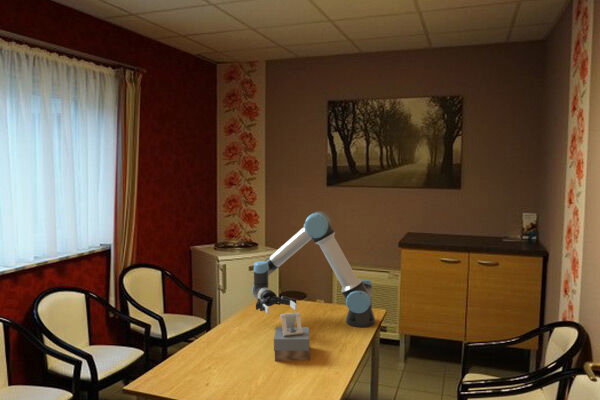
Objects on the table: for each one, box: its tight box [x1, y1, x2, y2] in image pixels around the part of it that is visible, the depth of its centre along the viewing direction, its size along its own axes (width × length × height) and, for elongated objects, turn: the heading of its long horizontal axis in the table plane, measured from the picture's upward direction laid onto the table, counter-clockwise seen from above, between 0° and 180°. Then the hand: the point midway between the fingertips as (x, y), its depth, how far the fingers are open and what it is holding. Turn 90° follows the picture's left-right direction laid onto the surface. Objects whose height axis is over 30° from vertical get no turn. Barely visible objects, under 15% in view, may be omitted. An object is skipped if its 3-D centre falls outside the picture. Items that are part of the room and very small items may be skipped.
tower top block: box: [273, 326, 310, 352], centre depth 216 cm, size 15×15×5 cm
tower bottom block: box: [274, 347, 311, 362], centre depth 216 cm, size 15×15×5 cm
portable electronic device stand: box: [279, 312, 303, 336], centre depth 215 cm, size 9×8×8 cm
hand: (282, 309), depth 224 cm, fingers open, 13 cm apart
